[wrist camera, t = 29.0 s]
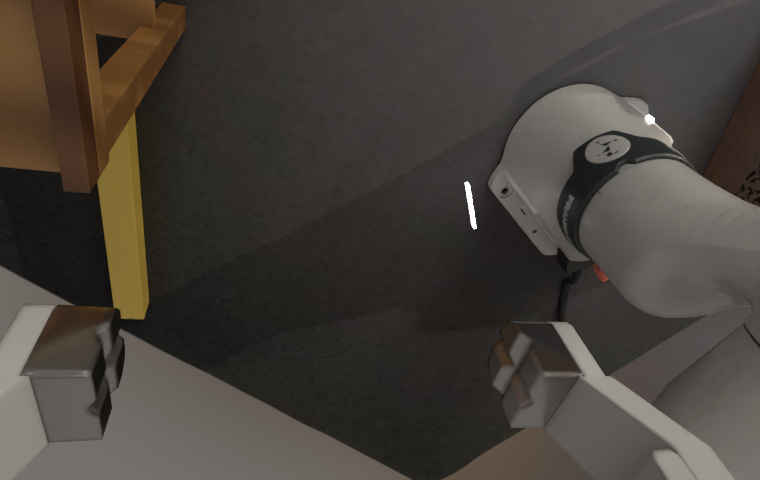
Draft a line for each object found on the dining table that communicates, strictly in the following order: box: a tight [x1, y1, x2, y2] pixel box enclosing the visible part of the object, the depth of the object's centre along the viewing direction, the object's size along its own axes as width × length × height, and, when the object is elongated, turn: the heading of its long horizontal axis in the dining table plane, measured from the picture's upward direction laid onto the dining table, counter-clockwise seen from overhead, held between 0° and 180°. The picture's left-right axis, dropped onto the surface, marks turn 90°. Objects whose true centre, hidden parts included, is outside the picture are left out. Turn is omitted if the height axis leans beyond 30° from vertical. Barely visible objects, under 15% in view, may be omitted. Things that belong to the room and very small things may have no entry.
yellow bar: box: [97, 111, 149, 319], centre depth 50 cm, size 24×3×3 cm, turn 168°
